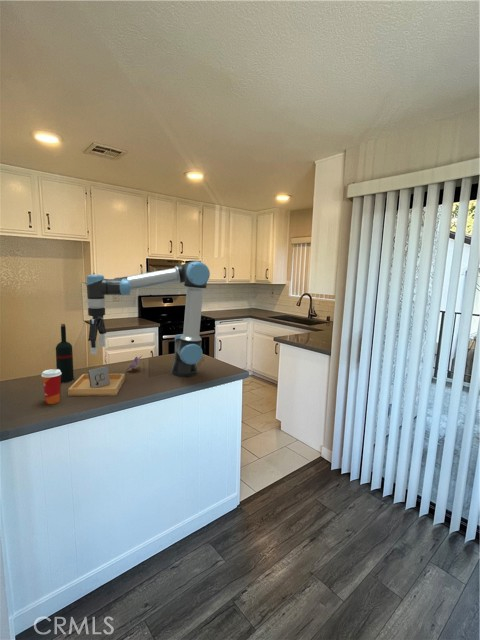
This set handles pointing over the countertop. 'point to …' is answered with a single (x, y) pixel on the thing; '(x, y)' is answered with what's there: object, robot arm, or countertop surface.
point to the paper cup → (52, 385)
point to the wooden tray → (84, 389)
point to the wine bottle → (64, 357)
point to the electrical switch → (99, 377)
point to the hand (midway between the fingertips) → (98, 350)
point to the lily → (135, 363)
